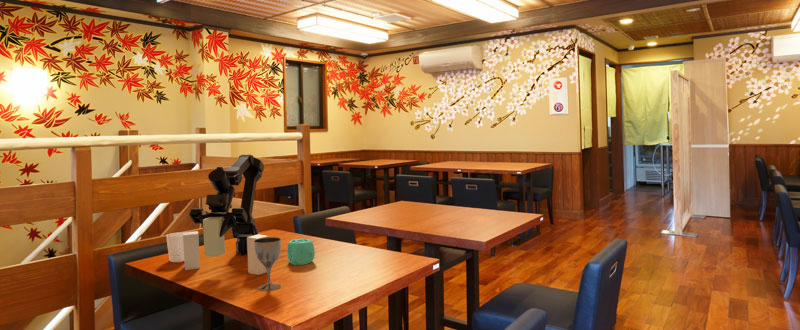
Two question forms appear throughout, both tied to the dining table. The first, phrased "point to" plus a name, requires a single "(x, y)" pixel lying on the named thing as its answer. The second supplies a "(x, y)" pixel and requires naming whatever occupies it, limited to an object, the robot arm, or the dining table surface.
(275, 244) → the wine glass
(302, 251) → the decorative dice
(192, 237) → the pale pink tall block
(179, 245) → the white cup
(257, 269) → the cream block
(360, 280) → the dining table surface
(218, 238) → the sage block
